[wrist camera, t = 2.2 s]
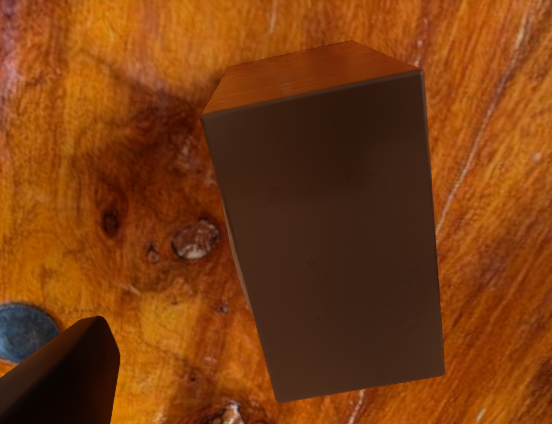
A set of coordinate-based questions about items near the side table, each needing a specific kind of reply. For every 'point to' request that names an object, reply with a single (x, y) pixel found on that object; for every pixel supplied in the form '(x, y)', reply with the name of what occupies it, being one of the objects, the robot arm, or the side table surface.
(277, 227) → the dark brown block
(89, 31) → the side table surface
